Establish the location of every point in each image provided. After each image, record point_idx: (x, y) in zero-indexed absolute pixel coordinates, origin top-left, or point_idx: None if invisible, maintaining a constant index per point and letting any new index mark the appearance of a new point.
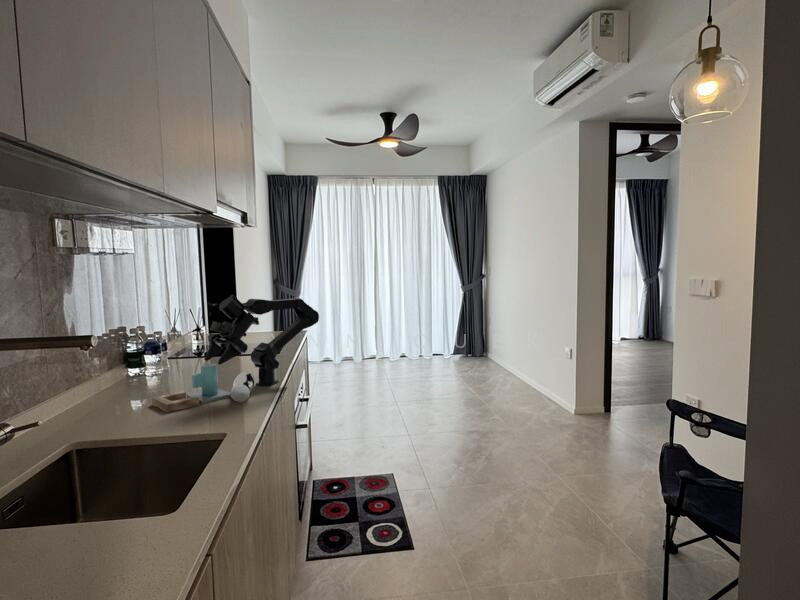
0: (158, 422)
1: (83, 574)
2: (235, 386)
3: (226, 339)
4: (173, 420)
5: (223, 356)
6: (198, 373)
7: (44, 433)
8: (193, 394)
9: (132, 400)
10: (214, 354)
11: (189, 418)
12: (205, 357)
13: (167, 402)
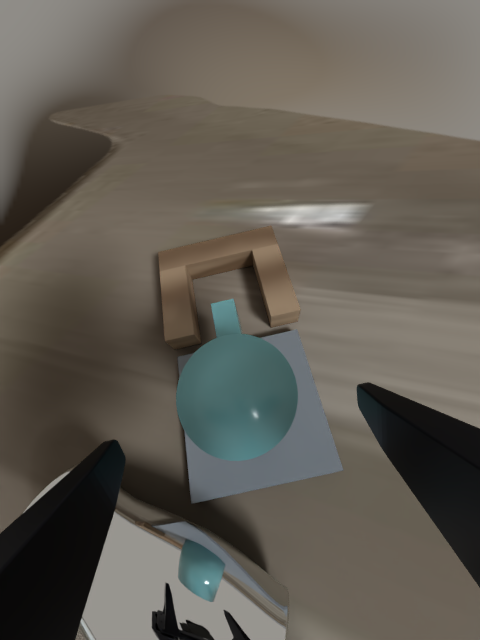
0: (107, 244)
1: None
2: (42, 493)
3: None
4: (92, 271)
5: (22, 522)
6: (240, 333)
7: (202, 112)
8: (285, 351)
9: (358, 206)
10: (441, 520)
11: (73, 303)
12: (379, 389)
13: (180, 255)
